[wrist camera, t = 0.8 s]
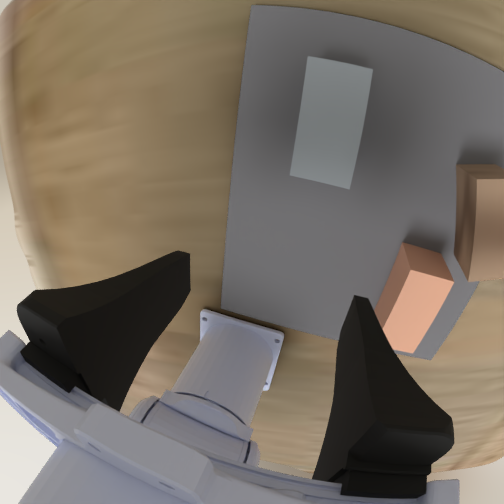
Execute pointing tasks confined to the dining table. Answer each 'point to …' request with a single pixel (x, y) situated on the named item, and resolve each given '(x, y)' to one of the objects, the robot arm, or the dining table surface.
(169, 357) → the dining table surface
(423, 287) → the brick terracotta
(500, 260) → the brick walnut
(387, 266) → the felt mat
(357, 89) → the brick slate
